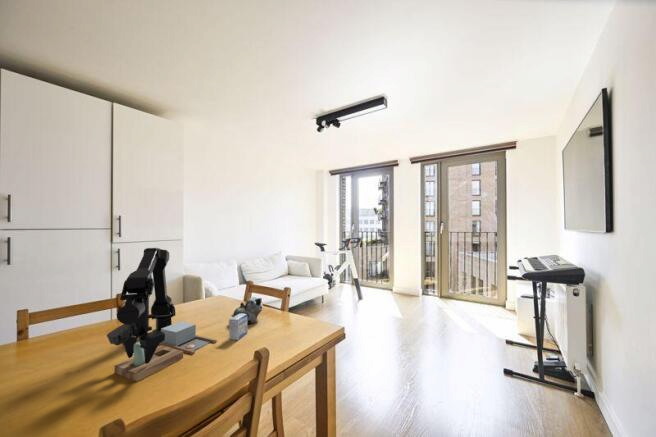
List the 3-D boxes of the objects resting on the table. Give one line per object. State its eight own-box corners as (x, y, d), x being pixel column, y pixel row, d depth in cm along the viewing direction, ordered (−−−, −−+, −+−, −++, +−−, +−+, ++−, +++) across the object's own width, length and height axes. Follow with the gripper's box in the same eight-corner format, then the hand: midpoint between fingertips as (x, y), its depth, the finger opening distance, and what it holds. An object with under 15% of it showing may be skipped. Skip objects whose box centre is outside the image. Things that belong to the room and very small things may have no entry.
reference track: (157, 344, 110) (157, 342, 110) (182, 334, 121) (182, 331, 121) (193, 354, 102) (193, 351, 102) (216, 342, 113) (216, 339, 113)
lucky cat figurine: (236, 316, 143) (249, 291, 147) (257, 326, 142) (269, 300, 146) (226, 317, 129) (241, 289, 133) (249, 328, 128) (263, 300, 132)
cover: (161, 342, 111) (161, 328, 112) (180, 333, 120) (180, 321, 120) (176, 346, 108) (176, 332, 108) (195, 337, 116) (195, 324, 116)
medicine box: (238, 340, 114) (238, 319, 114) (228, 339, 115) (228, 319, 115) (247, 333, 122) (247, 313, 122) (238, 332, 123) (238, 312, 123)
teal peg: (131, 371, 91) (131, 344, 91) (141, 367, 93) (140, 340, 93) (137, 373, 89) (137, 346, 89) (146, 369, 92) (146, 342, 92)
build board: (114, 372, 90) (114, 365, 90) (161, 351, 105) (161, 345, 105) (137, 381, 85) (137, 373, 85) (183, 358, 100) (183, 351, 100)
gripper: (94, 317, 88) (94, 366, 88) (130, 326, 80) (130, 379, 80) (131, 307, 98) (131, 350, 98) (166, 314, 90) (166, 361, 90)
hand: (138, 360), depth 91 cm, fingers open, 9 cm apart
